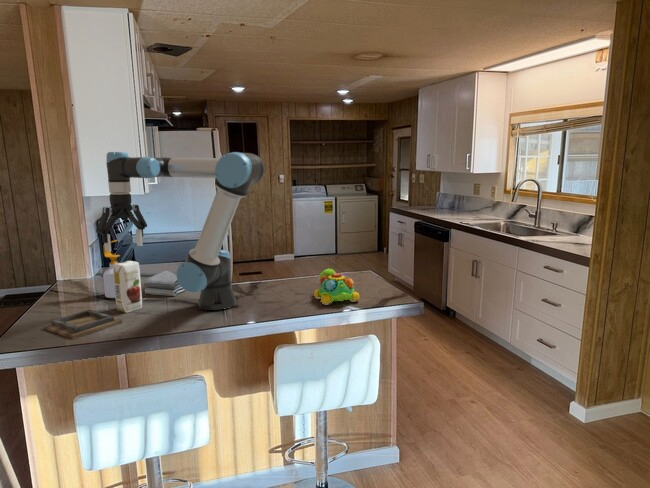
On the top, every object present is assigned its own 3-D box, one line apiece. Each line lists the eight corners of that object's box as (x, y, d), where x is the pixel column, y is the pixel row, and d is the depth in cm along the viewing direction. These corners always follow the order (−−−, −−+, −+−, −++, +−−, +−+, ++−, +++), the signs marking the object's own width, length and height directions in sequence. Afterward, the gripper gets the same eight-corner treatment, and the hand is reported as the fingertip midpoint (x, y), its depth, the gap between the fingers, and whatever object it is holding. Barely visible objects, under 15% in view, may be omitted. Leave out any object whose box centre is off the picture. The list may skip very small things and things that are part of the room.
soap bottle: (119, 299, 192) (114, 242, 188) (100, 297, 194) (95, 241, 190) (132, 293, 201) (127, 238, 197) (114, 291, 203) (109, 238, 199)
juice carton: (114, 310, 177) (110, 263, 174) (133, 304, 184) (130, 259, 181) (125, 314, 173) (121, 266, 170) (145, 308, 180) (141, 261, 177)
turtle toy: (342, 290, 206) (342, 265, 204) (363, 304, 185) (364, 277, 183) (306, 293, 200) (306, 268, 198) (324, 309, 179) (324, 280, 177)
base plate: (122, 322, 164) (121, 315, 163) (73, 339, 149) (72, 331, 148) (93, 314, 173) (92, 307, 173) (44, 328, 158) (43, 321, 158)
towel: (143, 296, 198) (142, 278, 197) (165, 285, 216) (164, 269, 214) (175, 297, 195) (174, 280, 194) (194, 286, 213) (193, 270, 212)
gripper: (142, 191, 183) (145, 242, 187) (82, 194, 162) (87, 252, 166) (154, 191, 179) (157, 244, 183) (94, 195, 158) (99, 254, 162)
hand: (124, 248), depth 174 cm, fingers open, 13 cm apart
